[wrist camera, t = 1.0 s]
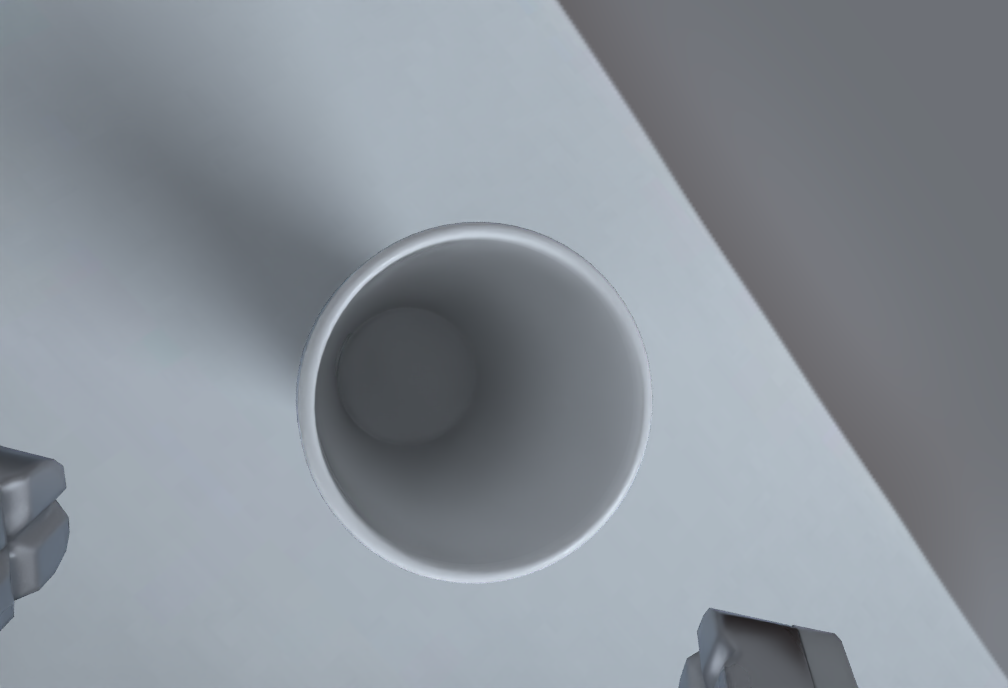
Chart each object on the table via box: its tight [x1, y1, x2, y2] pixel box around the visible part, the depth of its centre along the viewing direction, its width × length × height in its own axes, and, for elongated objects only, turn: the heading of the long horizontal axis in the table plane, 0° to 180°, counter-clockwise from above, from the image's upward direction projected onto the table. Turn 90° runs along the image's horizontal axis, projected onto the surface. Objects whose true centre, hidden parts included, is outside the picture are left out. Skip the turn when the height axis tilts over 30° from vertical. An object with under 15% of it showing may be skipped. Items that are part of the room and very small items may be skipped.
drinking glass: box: [296, 222, 653, 584], centre depth 22 cm, size 7×7×15 cm
